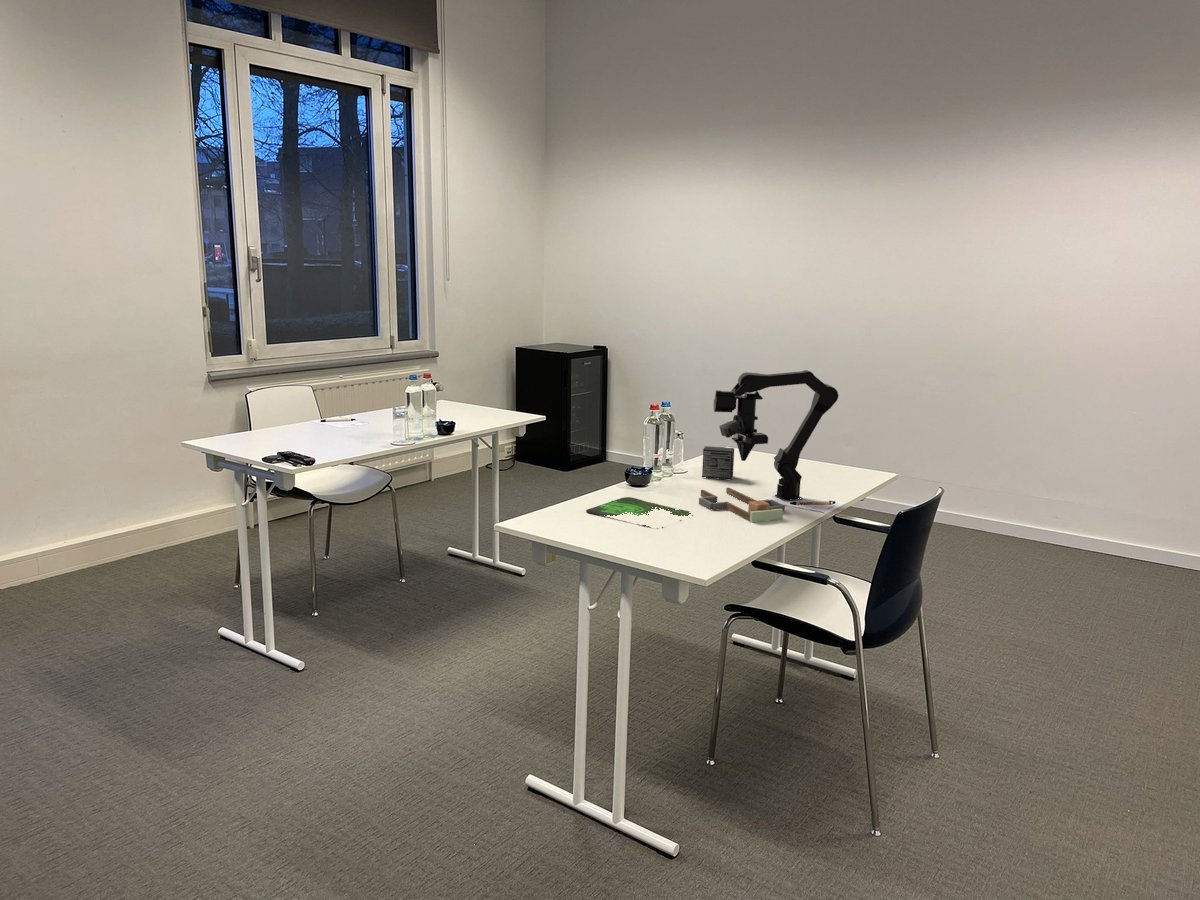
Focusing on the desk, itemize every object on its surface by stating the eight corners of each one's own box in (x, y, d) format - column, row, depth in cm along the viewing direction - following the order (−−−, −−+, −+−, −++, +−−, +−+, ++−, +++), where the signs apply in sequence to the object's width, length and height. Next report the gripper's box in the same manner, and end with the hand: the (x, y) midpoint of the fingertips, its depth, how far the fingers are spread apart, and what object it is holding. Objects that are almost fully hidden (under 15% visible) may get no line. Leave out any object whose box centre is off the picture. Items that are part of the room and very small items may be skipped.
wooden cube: (760, 514, 268) (761, 500, 267) (768, 518, 263) (769, 504, 262) (747, 515, 266) (748, 501, 265) (755, 520, 262) (756, 505, 261)
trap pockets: (755, 498, 286) (755, 492, 285) (785, 512, 270) (785, 506, 270) (698, 503, 278) (698, 497, 277) (725, 518, 262) (725, 511, 262)
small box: (733, 476, 314) (735, 447, 312) (731, 480, 308) (733, 451, 306) (703, 473, 317) (705, 445, 315) (701, 478, 311) (702, 448, 309)
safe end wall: (780, 518, 264) (780, 508, 263) (782, 519, 263) (782, 509, 262) (749, 521, 260) (750, 511, 259) (751, 522, 259) (752, 512, 258)
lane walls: (728, 493, 291) (729, 487, 290) (780, 518, 264) (780, 511, 263) (700, 495, 287) (700, 489, 286) (749, 521, 260) (750, 514, 259)
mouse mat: (699, 514, 267) (699, 511, 267) (659, 531, 250) (659, 527, 249) (624, 498, 283) (625, 495, 282) (582, 513, 265) (582, 510, 265)
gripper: (709, 409, 286) (707, 456, 290) (739, 418, 270) (736, 468, 273) (739, 407, 291) (736, 454, 294) (770, 417, 274) (767, 466, 277)
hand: (743, 460), depth 284 cm, fingers closed
